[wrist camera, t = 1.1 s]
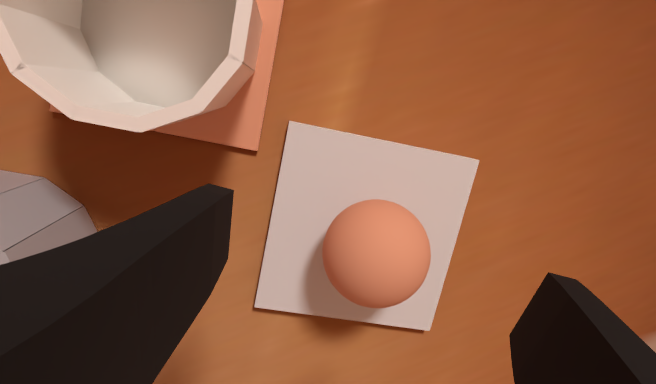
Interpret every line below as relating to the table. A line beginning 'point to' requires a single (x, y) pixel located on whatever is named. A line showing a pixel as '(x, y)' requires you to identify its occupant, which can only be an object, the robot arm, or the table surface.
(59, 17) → the tube
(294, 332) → the table surface
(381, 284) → the terracotta ball
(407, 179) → the ball mat
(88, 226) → the grey faceted cup
